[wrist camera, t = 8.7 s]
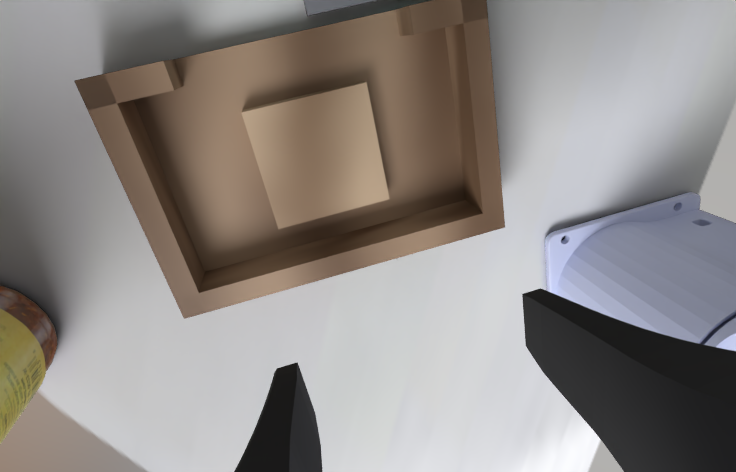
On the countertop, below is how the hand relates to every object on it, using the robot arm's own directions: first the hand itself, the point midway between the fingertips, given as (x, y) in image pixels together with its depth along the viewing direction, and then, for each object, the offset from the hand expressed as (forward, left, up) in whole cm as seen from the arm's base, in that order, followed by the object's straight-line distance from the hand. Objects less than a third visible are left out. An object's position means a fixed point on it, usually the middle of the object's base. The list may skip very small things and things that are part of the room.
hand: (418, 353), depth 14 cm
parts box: (+1, -5, -10) cm, 11 cm away
